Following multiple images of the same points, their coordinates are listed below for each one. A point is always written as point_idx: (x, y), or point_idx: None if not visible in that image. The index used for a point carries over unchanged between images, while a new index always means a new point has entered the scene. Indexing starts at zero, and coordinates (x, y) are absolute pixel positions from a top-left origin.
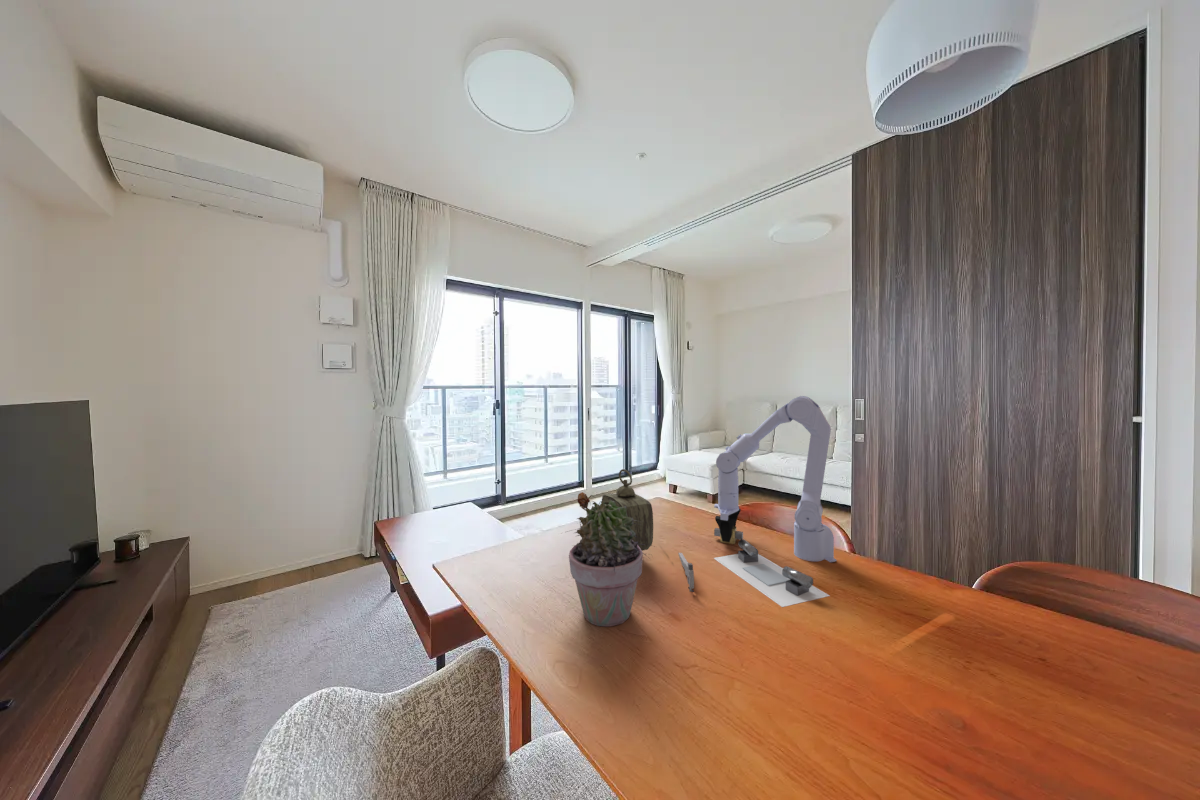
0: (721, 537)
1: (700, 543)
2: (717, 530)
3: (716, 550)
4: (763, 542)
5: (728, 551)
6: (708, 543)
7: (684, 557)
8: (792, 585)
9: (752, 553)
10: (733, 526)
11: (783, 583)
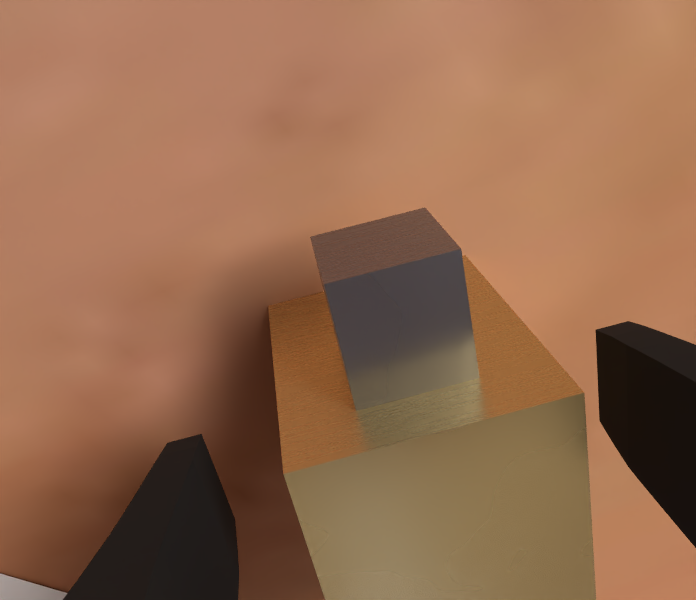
0: (148, 474)
1: (114, 3)
2: (339, 344)
3: (55, 341)
4: (639, 590)
5: (150, 461)
6: (217, 126)
7: None
8: None
9: None
10: (572, 570)
11: None
